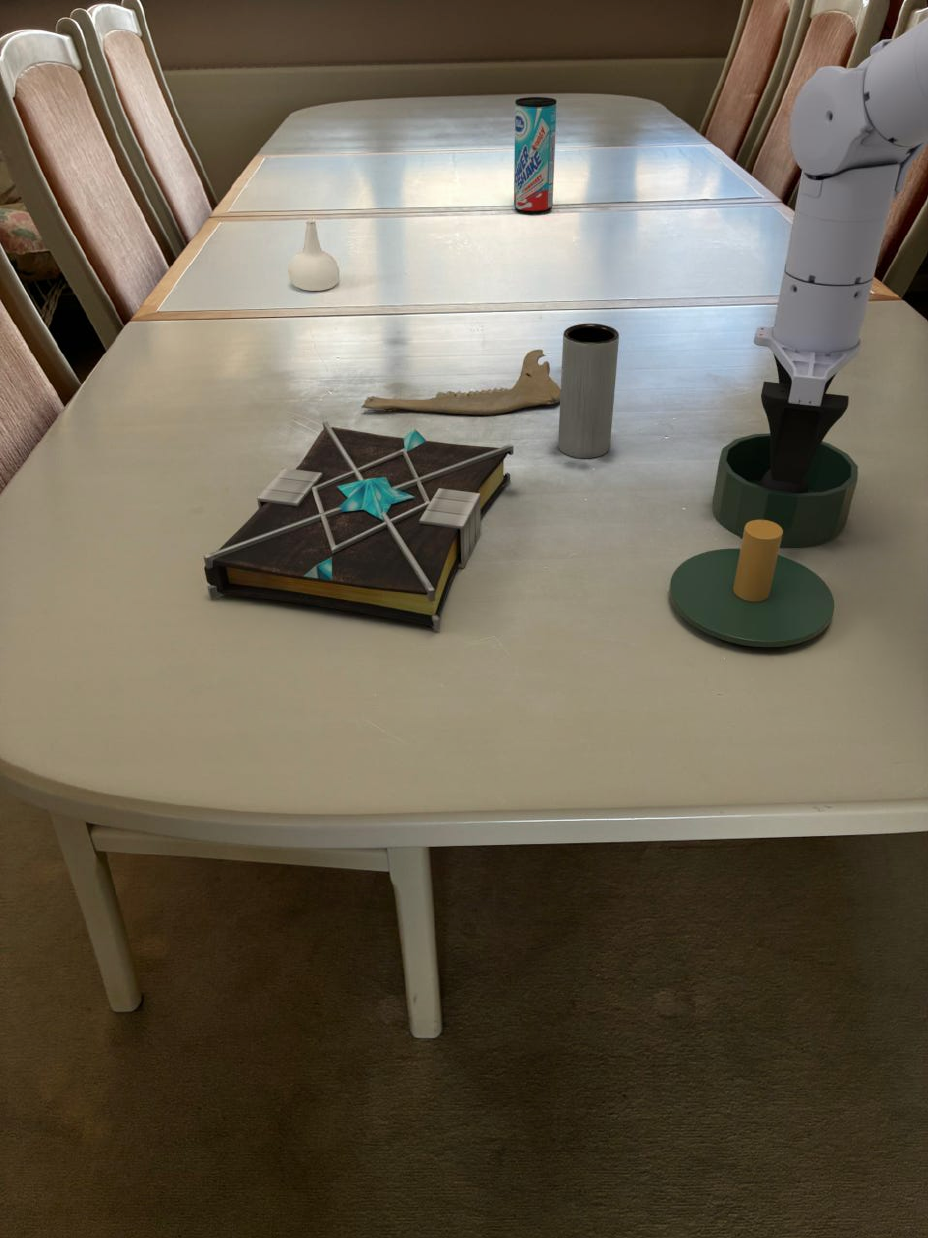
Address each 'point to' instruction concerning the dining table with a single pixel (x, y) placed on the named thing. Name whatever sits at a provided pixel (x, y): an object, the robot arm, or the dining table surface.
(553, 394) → the jawbone
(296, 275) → the garlic bulb
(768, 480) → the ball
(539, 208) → the beverage can
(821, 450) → the tin
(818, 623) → the lid
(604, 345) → the planter
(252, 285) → the dining table surface
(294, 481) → the book
